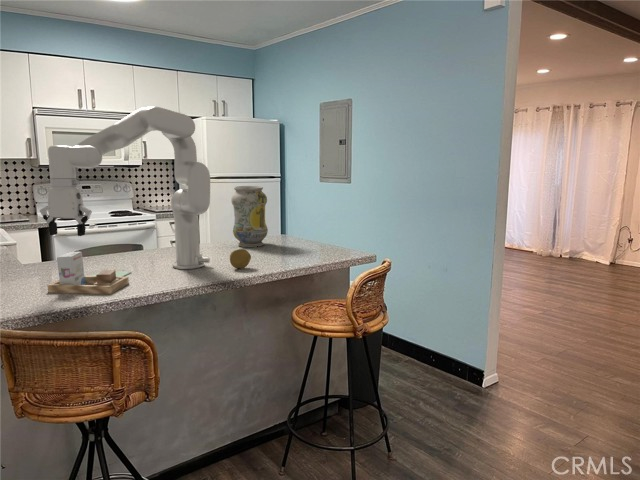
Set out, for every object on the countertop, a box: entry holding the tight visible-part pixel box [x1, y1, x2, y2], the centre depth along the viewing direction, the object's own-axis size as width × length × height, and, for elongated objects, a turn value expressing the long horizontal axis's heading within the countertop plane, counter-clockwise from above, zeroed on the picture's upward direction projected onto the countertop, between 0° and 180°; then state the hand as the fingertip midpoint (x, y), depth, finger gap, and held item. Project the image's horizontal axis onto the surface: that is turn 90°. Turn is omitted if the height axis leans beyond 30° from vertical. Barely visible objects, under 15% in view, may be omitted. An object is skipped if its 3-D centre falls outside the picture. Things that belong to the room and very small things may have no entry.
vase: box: [231, 185, 269, 248], centre depth 236 cm, size 18×18×30 cm
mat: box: [90, 270, 132, 277], centre depth 173 cm, size 12×14×1 cm
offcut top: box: [96, 269, 117, 283], centre depth 157 cm, size 4×6×3 cm
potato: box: [229, 248, 252, 269], centre depth 187 cm, size 7×8×8 cm
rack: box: [47, 275, 130, 295], centre depth 158 cm, size 21×13×2 cm, turn 86°
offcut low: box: [93, 279, 119, 286], centre depth 158 cm, size 5×7×3 cm
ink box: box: [56, 251, 86, 285], centre depth 158 cm, size 9×5×12 cm, turn 5°
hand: (67, 235), depth 155 cm, fingers open, 9 cm apart
